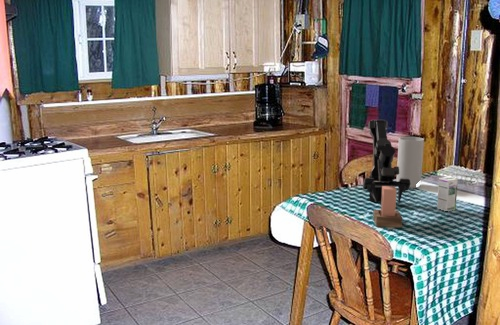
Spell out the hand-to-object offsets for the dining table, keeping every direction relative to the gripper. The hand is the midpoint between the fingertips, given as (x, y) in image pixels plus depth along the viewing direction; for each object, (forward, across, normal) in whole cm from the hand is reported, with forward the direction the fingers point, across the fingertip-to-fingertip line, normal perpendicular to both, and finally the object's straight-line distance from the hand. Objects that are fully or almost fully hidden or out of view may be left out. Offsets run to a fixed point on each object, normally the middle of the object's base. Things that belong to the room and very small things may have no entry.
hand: (387, 201), depth 213 cm
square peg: (+6, 0, +5) cm, 8 cm away
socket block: (+7, 0, +6) cm, 9 cm away
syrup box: (-8, +29, +21) cm, 37 cm away
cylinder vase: (-37, +21, +51) cm, 66 cm away
